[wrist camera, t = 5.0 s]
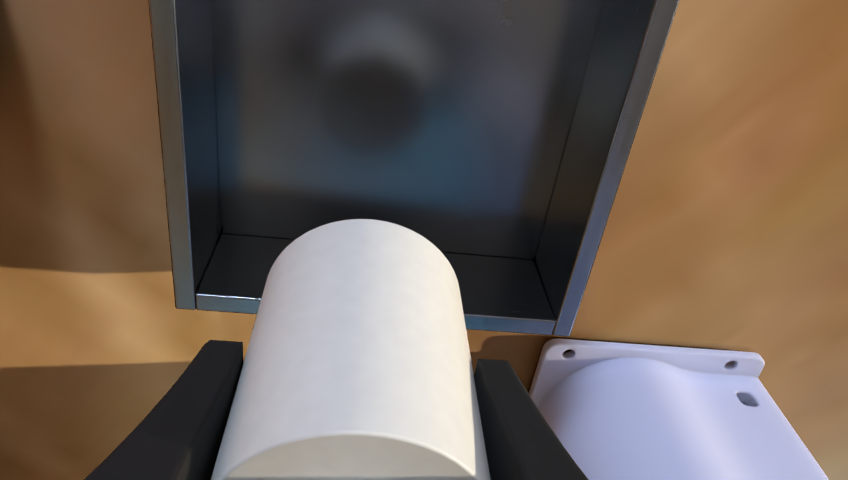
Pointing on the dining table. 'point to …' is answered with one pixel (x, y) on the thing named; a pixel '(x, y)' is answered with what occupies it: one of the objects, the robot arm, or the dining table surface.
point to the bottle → (357, 365)
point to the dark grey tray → (402, 137)
